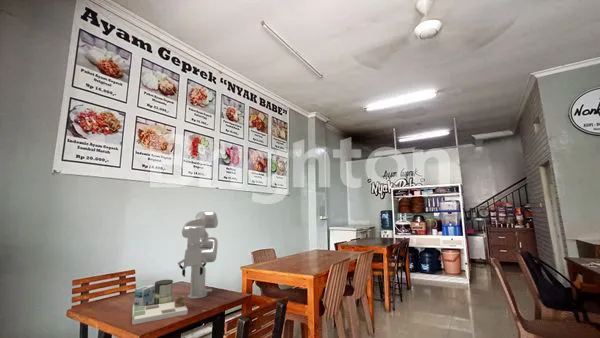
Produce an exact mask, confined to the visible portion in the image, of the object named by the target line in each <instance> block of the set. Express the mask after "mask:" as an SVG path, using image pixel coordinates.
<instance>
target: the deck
mask: <svg viewBox="0 0 600 338" xmlns="http://www.w3.org/2000/svg"><path fill="white" fill-rule="evenodd" d="M174 304H175V301H172V302H170V303H164V304H158V305H154V304H153V305H152V304H150V305H148V306H139V307H134V304H132V309H131V310H132V312H131V313H132V314H131V319H132V320H131V325H132V326H133V325H134V326H135V325H139V324H144V323H150V322H154V321H160V320H165V319H170V318H175V317H182V316H187V315H188V311H189V310H188V308H187V306H186V305H185V306H183V307H177V308H175V306H174Z"/></svg>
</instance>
